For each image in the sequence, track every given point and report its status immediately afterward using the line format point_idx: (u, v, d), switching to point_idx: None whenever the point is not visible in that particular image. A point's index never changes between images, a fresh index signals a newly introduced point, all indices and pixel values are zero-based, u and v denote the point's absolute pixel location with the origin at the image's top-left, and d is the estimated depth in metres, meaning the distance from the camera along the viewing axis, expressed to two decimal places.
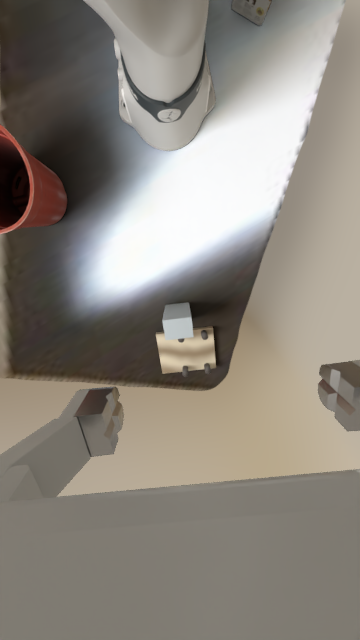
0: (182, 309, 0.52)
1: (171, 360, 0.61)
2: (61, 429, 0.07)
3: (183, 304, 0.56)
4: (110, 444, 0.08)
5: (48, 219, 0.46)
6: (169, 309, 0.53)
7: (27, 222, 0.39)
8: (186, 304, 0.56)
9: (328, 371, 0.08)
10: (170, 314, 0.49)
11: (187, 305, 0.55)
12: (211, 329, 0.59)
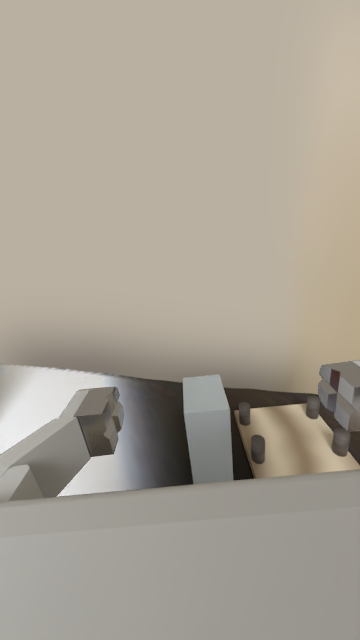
0: None
1: None
2: (61, 429, 0.07)
3: None
4: (110, 444, 0.08)
5: None
6: None
7: None
8: None
9: (328, 371, 0.08)
10: None
11: None
12: (237, 412, 0.36)
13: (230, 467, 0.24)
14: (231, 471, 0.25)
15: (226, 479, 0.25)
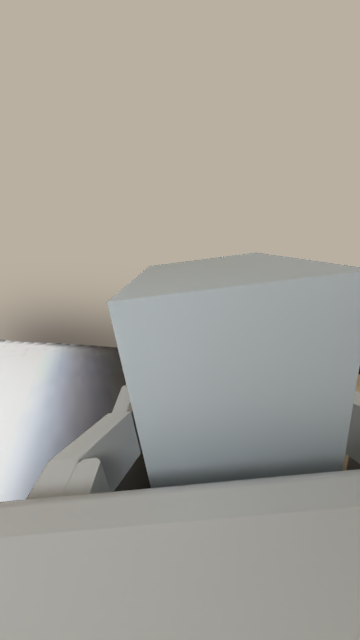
0: None
1: None
2: (118, 424, 0.07)
3: None
4: None
5: None
6: None
7: None
8: None
9: None
10: None
11: None
12: None
13: None
14: None
15: None
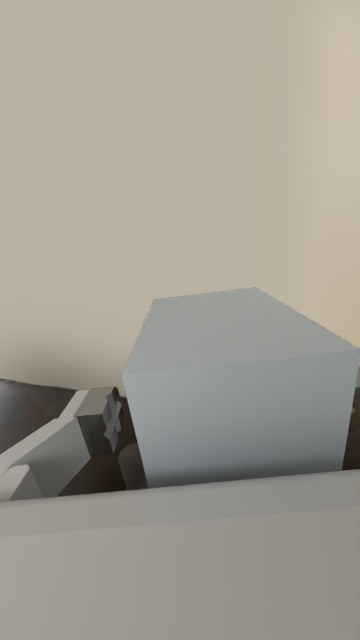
0: None
1: None
2: (60, 429, 0.07)
3: None
4: (110, 444, 0.08)
5: None
6: None
7: None
8: None
9: None
10: None
11: None
12: None
13: None
14: None
15: None
